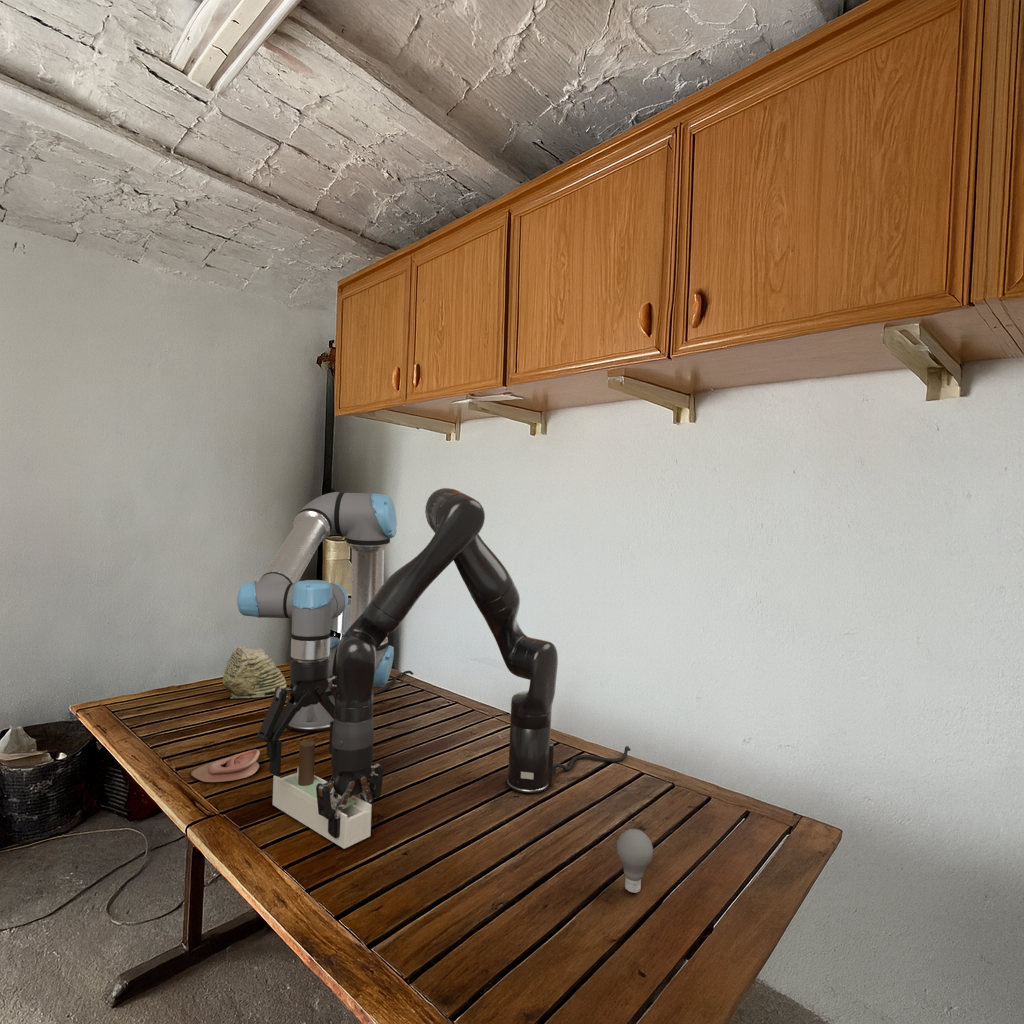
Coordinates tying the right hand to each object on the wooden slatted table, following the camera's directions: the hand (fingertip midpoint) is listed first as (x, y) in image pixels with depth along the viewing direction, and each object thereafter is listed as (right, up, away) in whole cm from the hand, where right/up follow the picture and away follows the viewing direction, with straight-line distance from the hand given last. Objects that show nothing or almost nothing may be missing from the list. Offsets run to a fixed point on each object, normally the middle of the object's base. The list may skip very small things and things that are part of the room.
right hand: (349, 829), depth 118 cm
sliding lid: (-7, +4, +6) cm, 10 cm away
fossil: (-50, +2, +80) cm, 94 cm away
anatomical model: (-34, 0, +25) cm, 42 cm away
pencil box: (-7, -1, +6) cm, 10 cm away
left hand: (-11, +9, +9) cm, 17 cm away
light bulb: (+51, -4, -13) cm, 52 cm away
